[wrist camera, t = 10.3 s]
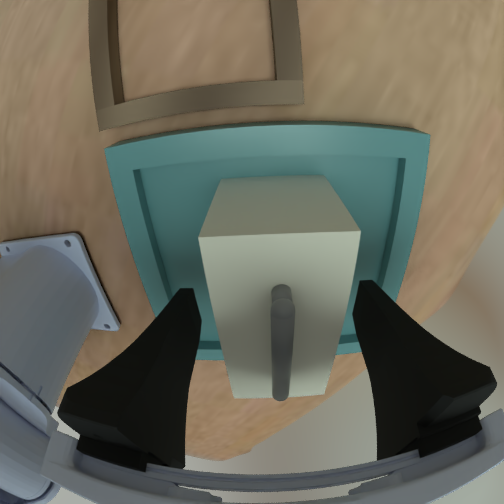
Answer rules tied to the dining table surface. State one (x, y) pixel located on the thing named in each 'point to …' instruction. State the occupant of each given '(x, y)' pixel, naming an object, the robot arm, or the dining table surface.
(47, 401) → the robot arm
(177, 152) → the tray
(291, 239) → the white block with handle
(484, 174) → the dining table surface
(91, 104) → the dining table surface
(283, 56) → the brown flat rectangular frame
